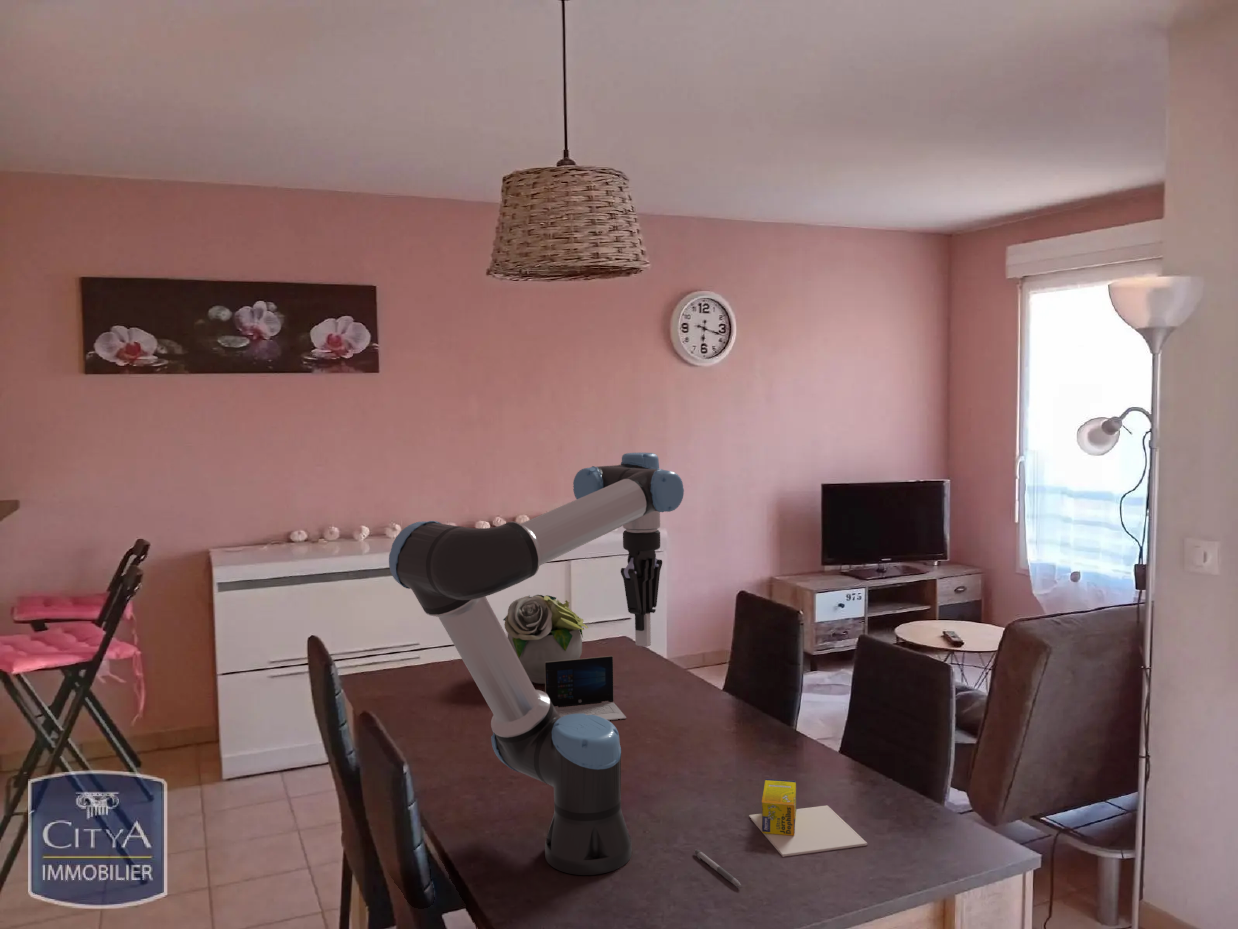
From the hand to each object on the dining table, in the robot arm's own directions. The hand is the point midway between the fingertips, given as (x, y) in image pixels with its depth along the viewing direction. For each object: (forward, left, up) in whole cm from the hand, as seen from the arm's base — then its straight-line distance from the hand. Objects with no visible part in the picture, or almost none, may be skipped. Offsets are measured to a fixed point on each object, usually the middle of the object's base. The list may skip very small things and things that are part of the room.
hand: (643, 645), depth 193 cm
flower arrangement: (+49, +61, -30) cm, 84 cm away
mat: (-3, -36, -29) cm, 46 cm away
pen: (-24, -28, -30) cm, 47 cm away
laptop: (+30, +35, -30) cm, 55 cm away
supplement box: (+3, -29, -26) cm, 39 cm away
